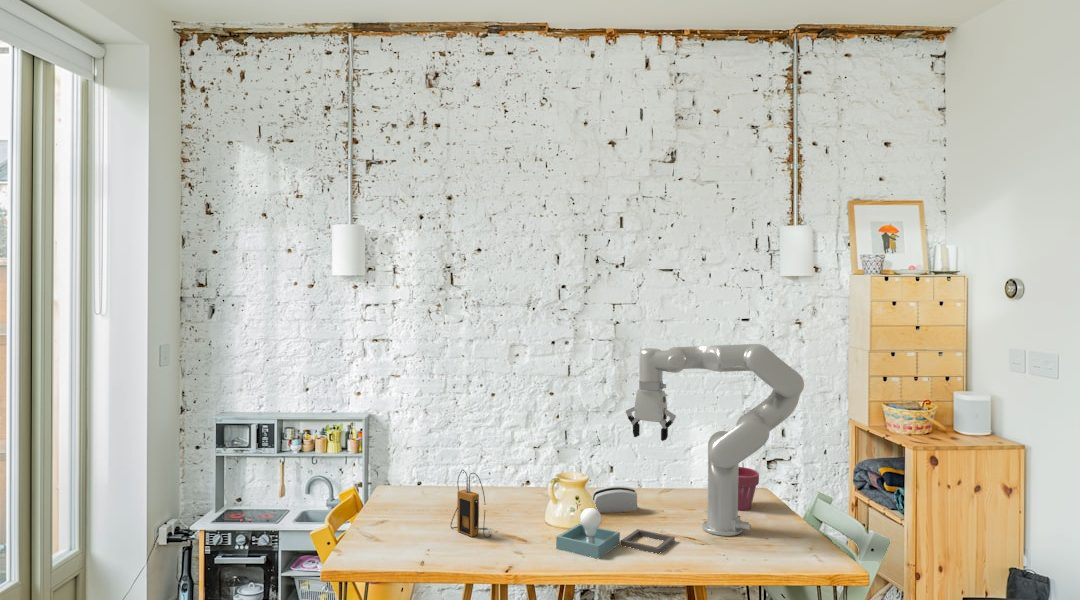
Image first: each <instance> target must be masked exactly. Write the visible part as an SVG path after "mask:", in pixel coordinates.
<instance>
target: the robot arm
mask: <svg viewBox="0 0 1080 600" xmlns="http://www.w3.org/2000/svg"><path fill="white" fill-rule="evenodd" d="M638 362H639V373H638V374H639V375H638V376H639V377H638V378H639V379H638V382H639V383H638V389H637V390H636V391H637V392H636V394H635V395H636V396H635V401H634V406H633V407H631V408H629V409H626V410H625V414H626V415H627V419H628V420H629V422H631V425H632V434H633V438H638V437H639V436H640V421H644V422H651V423H652V422H654V423H659V424H660V426H661V427H662V428H661V429H660V440H661V442H664V441H666V440H667V439H668V437H669V436H668V434H669V427H670V426H672V424H674V421H675V419H676V418H677V415H676V414H674V413H673V412H672V411H670V410H668V404H667V403H668V402H667V397H666V391H665V390H664V389H666V388H667V384H666V383H664V381H663V372H667V373H672V374H675V373H680V372H682V371H683V370H690V369H691V370H694V369H696V370H697V369H700V370H701V369H702V370H709V371H713V372H720V373H723V372H725V373H726V372H753V373H754V374H755V375H756V377H758V378H759V379H761V380H762V381H763V382H765V383H766V384H767V385H768V386H769V387H770V388H771V389H772V391H771V392H770V394H769V396H767V398H765V399H764V400H763V401H761V403H760V402H759V404H757V405H755V407H753V408H752V409H750V410H749V411H747V412H746V413H744V414H742V415H741V416H740V417H739V418H738V419H737V421H736V425H735V426H734V427H732V428H731V429H730V430H729V431H726V430H719V431H716V432H714V433H713V434H712V435H711V436H710V438H709V440H708V442H707V443H708V444H707V509H706V510H707V511H706V512H707V515H706V516H707V519H706V521H704V522H702V525H701V526H702V527H701V528H702V530H704V531H705V532H707V533H709V534H711V535H715V536H716V535H717V536H722V537H725V536H726V537H730V536H731V537H733V536H738V535H740V534H742V533H743V530H746V531H751V527H752V524H750V522H749V521H745V520H744V521H743V520H742V519H741V515H739V513H738V512H739V510H738V471H739V467H740V466H739V464H740V463H742V461H744V460H745V459H747V458H748V457H750V456H751V455H753V454H754V453H755V452H757V451H758V450H760V449H761V448H762V447H763V446H765V445H766V443H767V442H768V440H769V438H770V433H771V431H772V430H774V429H775V428H776V427H778V426H779V425H780V424H781V423H783V422H784V421H786V420H787V419H788V418H790V416H791V415H792V414H793V412H794V411H795V410H796V408H797V407H798V403H799V400H800V396H801V394H802V392H803V391H804V387H805V380H804V378H803V376H802V375H801V374H800V373H799V372H798V371H797V370H795V369H794V368H792V367H791V366H790V365H788V364H787V363H786V362H785V361H783V360H782V359H781V358H779V356H778V355H776V354H775V353H774V352H773V351H772V350H770V349H769V348H768V347H767V346H766V345H764V344H760V343H759V344H758V343H750V344H727V345H726V344H722V345H721V344H720V345H719V344H718V345H706V346H705V345H703V346H700V345H699V346H697V345H695V346H693V345H692V346H678V347H677V346H676V347H675V346H674V347H670V348H669V349H668V350H667V349H666V350H661V349H659V348H650V347H649V348H642V349H641V350H640V351H639V361H638ZM632 413H634V416H633V414H632ZM668 417H669V420H668V421H667V419H668Z"/></svg>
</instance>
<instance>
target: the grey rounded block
mask: <svg viewBox="0 0 1080 600" xmlns="http://www.w3.org/2000/svg"><path fill="white" fill-rule="evenodd" d="M592 498H593V500H594V502H595V504H596V507H597V509H598V511H599V512H600V514H601V513H603V514H604V513H620V512H636V511H638V493H637V492H636V490H635V489H634V488H633V487H629V486H624V485H611V486H610V485H609V486H605V487H601V488H597V489H595V490H594V491H593V493H592V497H591V499H592Z"/></svg>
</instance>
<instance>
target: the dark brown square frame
mask: <svg viewBox="0 0 1080 600" xmlns="http://www.w3.org/2000/svg"><path fill="white" fill-rule="evenodd" d="M639 536H640V537H644V538H648V537H649V538H650V539H653V540H657V539H659V540H658V541H662V540H663V542H661V543H660V544H659V545H658V546H654V545H649V544H648V545H647V544H644V543H639V542H634V540H635V539H637V538H638V537H639ZM636 537H637V538H636ZM649 538H648V539H649ZM675 539H676V537H675V536H673V535H667V534H662V533H659V532H658V533H657V532H653V531H648V530H643V529H639V528H637V529H636V530H634V531H632V532H631V533H630V534H628V535H626V537H624V538H623V539H620V544H619V546H620V545H622V546H621V547H624V546H626V547H625V548H628V547H631V548H630V549H633V548H634V550H637V549H639V551H642V550H643V552H646V551H648V552H647V553H651V552H653V553H652V554H655V553H657V554H656V555H660V554H661V553H662V552H663V550H664V549H665V550H666V549H668V548H669V547H670V546H671V545H673V544H674V543H675V542H676V541H675ZM673 542H674V543H673ZM669 545H670V546H669ZM668 546H669V547H668ZM665 550H664V551H665ZM660 552H661V553H660ZM659 553H660V554H659Z"/></svg>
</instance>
